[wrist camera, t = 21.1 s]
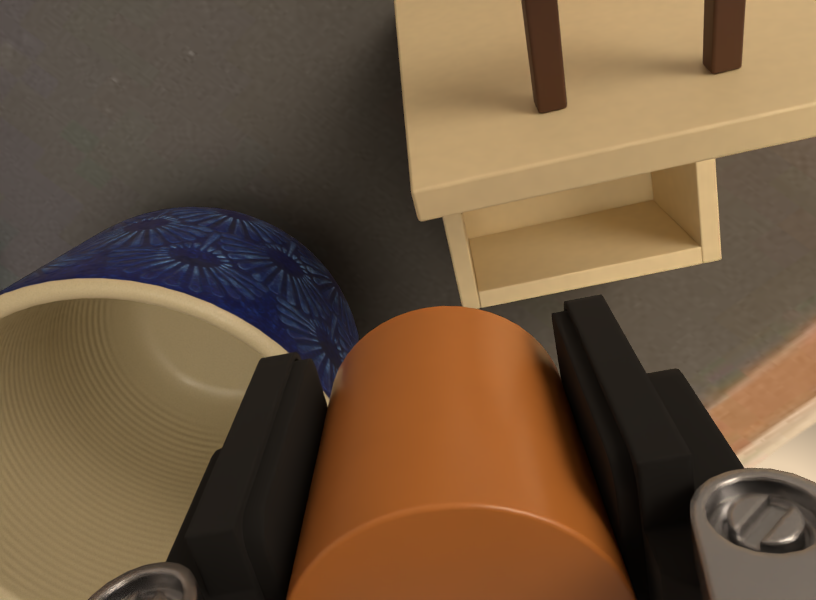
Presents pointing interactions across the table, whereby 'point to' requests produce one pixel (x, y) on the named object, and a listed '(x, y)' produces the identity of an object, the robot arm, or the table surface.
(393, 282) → the table surface
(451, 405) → the orange cylinder
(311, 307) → the planter
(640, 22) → the lid
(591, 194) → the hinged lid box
